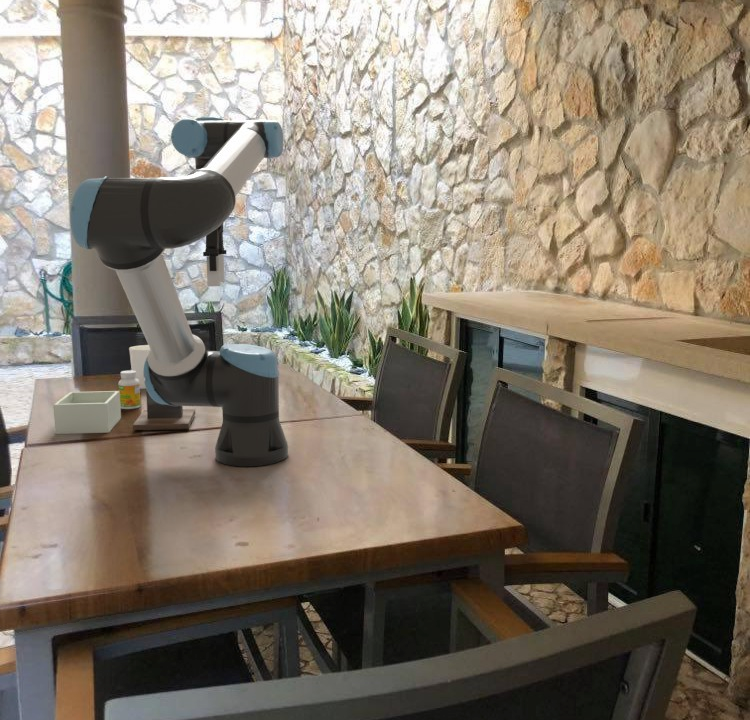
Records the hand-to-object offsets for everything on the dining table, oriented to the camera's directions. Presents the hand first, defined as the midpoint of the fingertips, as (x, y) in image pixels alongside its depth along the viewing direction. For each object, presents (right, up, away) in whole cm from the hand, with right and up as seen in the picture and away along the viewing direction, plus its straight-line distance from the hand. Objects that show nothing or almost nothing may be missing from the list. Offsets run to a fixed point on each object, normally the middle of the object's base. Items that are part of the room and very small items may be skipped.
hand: (216, 284), depth 172 cm
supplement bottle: (-29, -30, +29) cm, 51 cm away
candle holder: (-33, -26, +56) cm, 70 cm away
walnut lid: (-15, -33, +12) cm, 38 cm away
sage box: (-33, -33, +10) cm, 48 cm away
